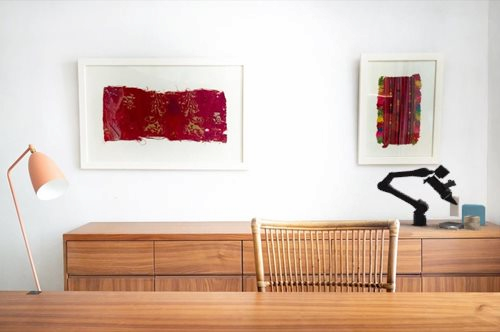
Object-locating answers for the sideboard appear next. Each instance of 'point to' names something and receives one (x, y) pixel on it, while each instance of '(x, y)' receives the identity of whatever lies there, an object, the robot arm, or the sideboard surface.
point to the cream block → (454, 207)
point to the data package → (474, 212)
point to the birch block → (471, 222)
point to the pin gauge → (448, 227)
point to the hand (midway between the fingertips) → (457, 204)
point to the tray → (453, 224)
